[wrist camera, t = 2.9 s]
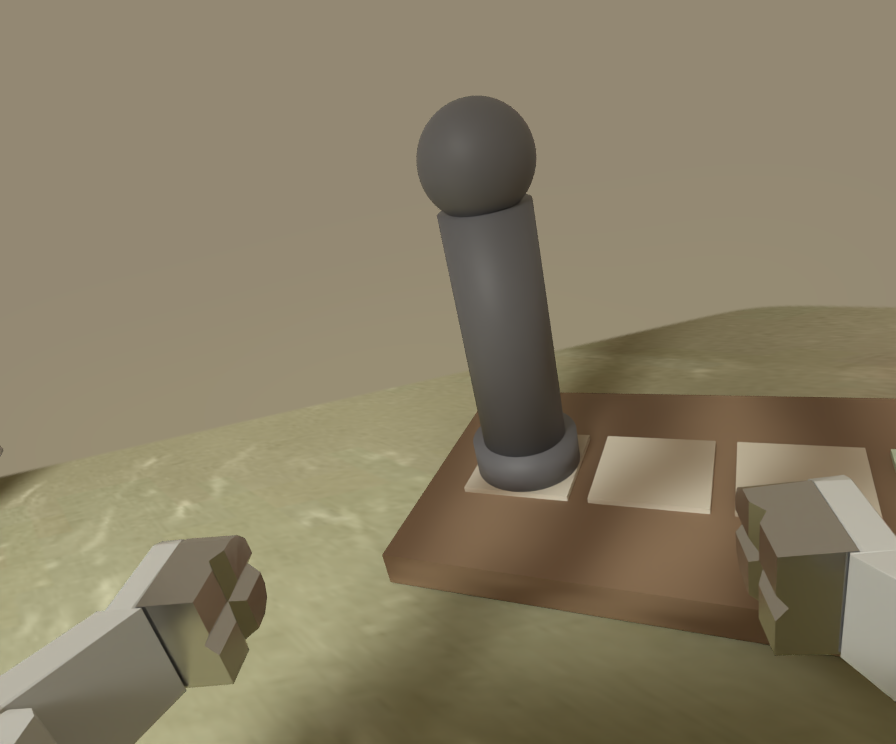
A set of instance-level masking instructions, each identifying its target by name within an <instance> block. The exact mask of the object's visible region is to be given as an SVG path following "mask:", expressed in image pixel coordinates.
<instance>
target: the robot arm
mask: <svg viewBox="0 0 896 744" xmlns="http://www.w3.org/2000/svg"><path fill="white" fill-rule="evenodd" d="M2 452H3V449H2V448H1V446H0V456H1V454H2ZM735 510H736V512H737V514H738V516H739V518H740V521H741V523H742V525H741V526H740V527H739V528H738V530H737V531H736V532H735V534H736V552H737V558H738V564H739V569H740V572H741V575H742V578H743V582H744V584H745V587H746V589H747V591H748V594H749V595H750V596H752V597H753V598H755V599H756V600H758V601H759V620H760V622H761V625H762V627H763V629H764V632H765V634H766V636H767V639H768V641H769V643H770V646H771V648H772V650H773V653H774V655H775V656H786V655H824V654H841V658H842V659H844V660H845V661H846V662H847V663H848V664H850V665H851V666H852V667H853V668H855V669H856V670H857V671H858V672H859V673H861V674H862V675H863V676H864V677H866V678H867V679H868V680H869V681H870V682H872V683H873V684H874V685H875V686H877V687H878V688H879V689H880V690H882V691H883V692H884V693H885V694H886V695H888V696H889V697H890V698H891V699H893V700H894V701H895V702H896V535H895V534H894V533H893V531H892V530H891V529H890V528H889V526H888V525H887V524H886V522H885V521H884V520H883V519H882V517H881V516H880V515H879V514H878V512H877V511H876V510H875V508H874V507H873V506H872V505H871V503H870V502H869V501H868V500H867V498H866V497H865V496H864V495H863V493H862V492H861V491H860V489H859V488H858V487H857V486H856V484H855V483H854V482H853V481H852V479H851V478H849V477H847V476H845V475H838V476H830V477H821V478H813V479H808V480H806V481H795V482H785V483H775V484H765V485H756V486H746V487H737V490H736V495H735ZM251 554H252V552H251V550H250V548H249V546H248V544H247V542H246V539H245V538H243V537H240V536H238V535H234V536H220V537H206V538H193V539H186V540H171V541H162V542H159V543H157V544H155V545H153V547H152V548H151V549H150V551H149V552H148V553H147V555H146V556H145V557H144V559H143V560H142V561H141V563H140V564H139V565H138V567H137V568H136V569H135V571H134V572H133V573H132V575H131V576H130V577H129V579H128V580H127V581H126V583H125V584H124V585H123V587H122V588H121V589H120V591H119V592H118V594H117V595H116V596H115V598H114V599H113V600H112V602H111V603H110V604H109V606H108V607H107V608H106V610H105V611H96V612H95V613H93V614H92V615H90V616H89V617H87V618H86V619H84V620H83V621H81V622H80V623H79V624H77V625H76V626H74V627H73V628H71V629H70V630H68V631H67V632H65V633H64V634H62V635H61V636H59V637H58V638H56V639H55V640H53V641H52V642H50V643H49V644H47V645H46V646H44V647H43V648H41V649H40V650H38V651H37V652H35V653H34V654H32V655H31V656H29V657H28V658H26V659H25V660H23V661H22V662H20V663H19V664H17V665H16V666H14V667H13V668H11V669H10V670H8V671H7V672H5V673H4V674H2V675H1V676H0V744H135V743H136V742H137V741H138V740H139V739H140V738H141V737H142V735H143V734H144V733H145V732H146V731H147V730H148V729H149V728H150V727H151V726H152V725H153V724H154V723H155V722H156V721H157V720H158V719H159V718H160V717H161V716H162V715H163V714H164V713H165V712H166V711H167V710H168V709H169V708H170V707H171V706H172V705H173V704H174V703H175V702H176V701H177V700H178V699H179V698H180V697H181V696H182V695H183V694H184V693H185V692H186V688H193V687H205V686H216V685H228V684H234V682H235V680H236V678H237V675H238V673H239V671H240V669H241V667H242V664H243V662H244V660H245V658H246V656H247V653H248V651H249V648H248V645H247V642H246V639H247V638H248V637H249V636H250V635H251V634H252V633H254V632H255V631H256V630H257V629H258V628H259V627H260V624H261V622H262V619H263V617H264V615H265V609H266V600H267V594H266V588H265V583H264V580H263V578H262V575H261V573H260V572H259V571H258V570H256V569H255V568H254V567H252V566H251V565H250V564H248V562H249V559H250V557H251Z"/></svg>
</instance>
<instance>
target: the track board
mask: <svg viewBox="0 0 896 744" xmlns="http://www.w3.org/2000/svg"><path fill="white" fill-rule="evenodd" d="M560 396H561V403H562V410H563V413H565V414H567V415H568V416H570V417H571V418H572V419H573V421H574V422H575V424H576V429H577V436H578V444H579V451H580V462H579V465H578V467H577V469H576V470H575V471H574V472H573V473H572V474H571V475H570V476H569V477H568V478H567V479H565V480H564V481H562V482H560V483H558V484H556V485H554V486H552V487H549V488H546V489H542V490H537V491H531V492H511V491H505V490H501V489H498V488H495V487H493V486H491V485H490V484H488V483H487V482H486V481H485V480H484V479H483V478H482V477H481V475H480V472H479V467H478V463H477V458H476V454H475V449H474V444H473V438H474V435H475V433H476V431H477V430H478V428H479V427H480V426H481V425H480V420H479V415H478V411H477V413H476V414H475V416H474V417H473V419H472V420H471V422H470V423H469V425H468V426H467V428H466V429H465V431H464V432H463V434H462V435H461V437H460V438H459V440H458V441H457V443H456V444H455V446H454V447H453V449H452V450H451V452H450V453H449V455H448V456H447V458H446V459H445V461H444V462H443V464H442V465H441V467H440V469H439V470H438V472H437V473H436V475H435V476H434V478H433V479H432V481H431V482H430V484H429V485H428V487H427V488H426V490H425V491H424V493H423V494H422V496H421V497H420V499H419V500H418V502H417V503H416V505H415V506H414V508H413V509H412V511H411V512H410V514H409V515H408V517H407V518H406V520H405V521H404V523H403V524H402V526H401V527H400V529H399V530H398V532H397V533H396V535H395V536H394V538H393V539H392V541H391V542H390V544H389V545H388V547H387V548H386V550H385V551H384V553H383V555H382V556H383V559H384V562H385V565H386V568H387V572H388V575H389V578H390V581H391V582H394V583H400V584H406V585H412V586H419V587H425V588H431V589H437V590H443V591H449V592H455V593H461V594H467V595H473V596H479V597H485V598H491V599H497V600H503V601H509V602H515V603H521V604H527V605H533V606H539V607H545V608H551V609H557V610H563V611H569V612H575V613H581V614H587V615H593V616H599V617H605V618H611V619H617V620H623V621H629V622H636V623H642V624H648V625H654V626H660V627H666V628H672V629H678V630H684V631H690V632H696V633H702V634H708V635H714V636H720V637H726V638H732V639H738V640H744V641H750V642H756V643H762V644H768V645H770V643H769V641H768V639H767V636H766V634H765V632H764V629H763V627H762V625H761V622H760V620H759V601H758V600H756V599H755V598H753V597H752V596H750V595H749V594H748V591H747V589H746V587H745V584H744V582H743V578H742V575H741V572H740V569H739V564H738V558H737V552H736V534H735V532H736V531H737V530H738V528H739V527H740V526H741V525H742V523H741V521H740V518H739V516H738V514H737V512H736V510H735V495H736V490H737V487H746V486H756V485H765V484H775V483H785V482H795V481H806V480H808V479H813V478H821V477H830V476H838V475H845V476H847V477H849V478H851V479H852V481H853V482H854V483H855V484H856V486H857V487H858V488H859V489H860V491H861V492H862V493H863V495H864V496H865V497H866V498H867V500H868V501H869V502H870V503H871V505H872V506H873V507H874V508H875V510H876V511H877V512H878V514H879V515H880V516H881V517H882V519H883V520H884V521H885V522H886V524H887V525H888V526H889V528H890V529H891V530H892V531H893V533H894V534H895V535H896V399H888V398H832V397H776V396H719V395H663V394H607V393H560ZM828 655H834V656H840V657H841V654H828Z"/></svg>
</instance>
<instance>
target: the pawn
mask: <svg viewBox="0 0 896 744" xmlns="http://www.w3.org/2000/svg"><path fill="white" fill-rule="evenodd" d="M535 167H536V148H535V143H534V140H533V137H532V134H531V131H530V129H529V127H528V125H527V124H526V122H525V121H524V119H523V118H522V117H521V116H520V115H519V114H518V112H517V111H515V110H514V109H513V108H512V107H511V106H509V105H507V104H506V103H504V102H502V101H500V100H498V99H494V98H491V97H486V96H468V97H463V98H459V99H457V100H454V101H452V102H450V103H448V104H447V105H445V106H444V107H442V108H441V109H440V110H439V111H437V112H436V113H435V114H434V115H433V117H432V118H431V119H430V120H429V122H428V123H427V125H426V126H425V128H424V130H423V132H422V134H421V137H420V140H419V144H418V148H417V170H418V175H419V179H420V182H421V184H422V187H423V189H424V191H425V193H426V194H427V196H428V197H429V199H430V200H431V201H432V202H433V203H434V204H435V205H436V206H437V207H438V208H439V209H440V210H442V211H441V212H440V213H439V214H438V215H437V218H438V223H439V228H440V232H441V238H442V242H443V247H444V252H445V257H446V261H447V266H448V271H449V276H450V281H451V285H452V290H453V295H454V300H455V305H456V309H457V314H458V319H459V324H460V329H461V333H462V338H463V343H464V348H465V353H466V357H467V362H468V367H469V372H470V377H471V381H472V386H473V391H474V396H475V401H476V405H477V410H478V415H479V420H480V425H481V426H480V427H479V428H478V430H477V431H476V433H475V435H474V438H473V444H474V449H475V454H476V458H477V463H478V467H479V472H480V475H481V477H482V478H483V479H484V480H485V481H486V482H487V483H488V484H490V485H491V486H493V487H495V488H498V489H501V490H505V491H511V492H531V491H537V490H542V489H546V488H549V487H552V486H554V485H556V484H558V483H560V482H562V481H564V480H565V479H567V478H568V477H569V476H570V475H571V474H572V473H573V472H574V471H575V470H576V469H577V467H578V465H579V462H580V451H579V444H578V436H577V429H576V424H575V422H574V421H573V419H572V418H571V417H570V416H568V415H567V414H565V413H563V410H562V403H561V396H560V389H559V382H558V375H557V368H556V361H555V354H554V347H553V340H552V333H551V326H550V319H549V312H548V305H547V298H546V291H545V284H544V277H543V270H542V263H541V256H540V249H539V242H538V235H537V228H536V221H535V214H534V207H533V200H532V196H530V195H528V194H526V192H527V191H528V189H529V187H530V185H531V182H532V179H533V176H534V173H535Z"/></svg>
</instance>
